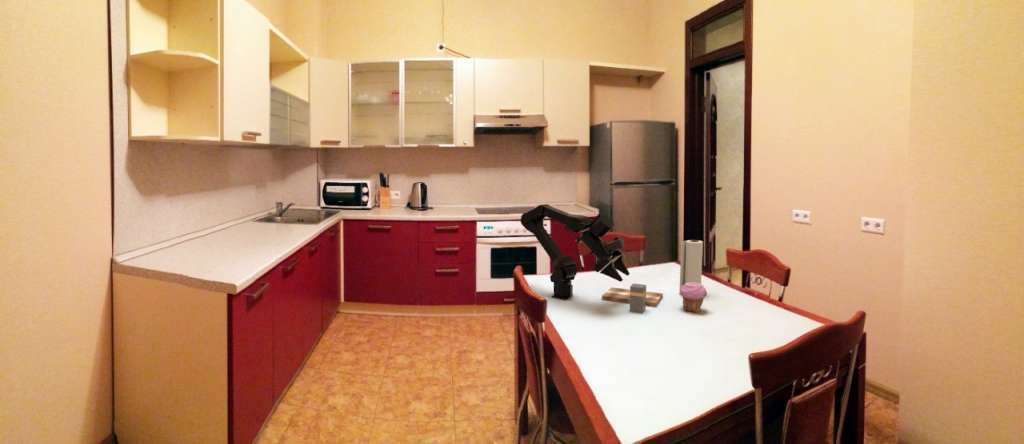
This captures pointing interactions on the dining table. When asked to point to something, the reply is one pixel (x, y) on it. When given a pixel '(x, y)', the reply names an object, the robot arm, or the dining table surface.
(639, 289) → the gift box with lid
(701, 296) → the cupcake
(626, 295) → the cardboard box
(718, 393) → the dining table surface
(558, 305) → the dining table surface
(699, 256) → the paper towel roll
